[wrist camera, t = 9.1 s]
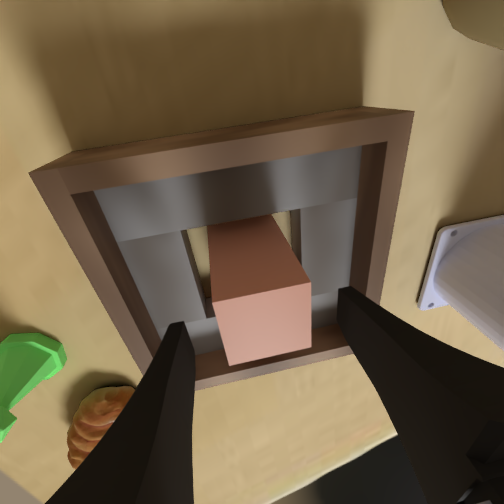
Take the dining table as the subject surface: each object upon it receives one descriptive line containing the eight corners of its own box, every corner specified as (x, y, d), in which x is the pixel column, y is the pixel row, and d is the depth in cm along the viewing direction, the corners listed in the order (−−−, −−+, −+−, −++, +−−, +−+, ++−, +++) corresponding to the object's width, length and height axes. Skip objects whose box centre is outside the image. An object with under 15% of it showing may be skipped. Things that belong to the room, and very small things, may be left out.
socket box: (363, 106, 14) (414, 111, 11) (345, 310, 22) (371, 349, 19) (72, 151, 13) (28, 172, 10) (163, 349, 21) (156, 399, 18)
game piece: (-21, 343, 18) (-107, 444, 13) (41, 323, 18) (-21, 416, 13) (25, 379, 20) (-32, 475, 15) (80, 361, 20) (41, 451, 15)
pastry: (66, 380, 21) (43, 431, 18) (155, 376, 23) (149, 423, 20) (80, 441, 26) (64, 491, 22) (154, 434, 27) (149, 480, 24)
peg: (271, 214, 17) (311, 282, 11) (275, 266, 19) (311, 347, 13) (207, 225, 16) (212, 302, 10) (219, 277, 18) (229, 366, 12)
